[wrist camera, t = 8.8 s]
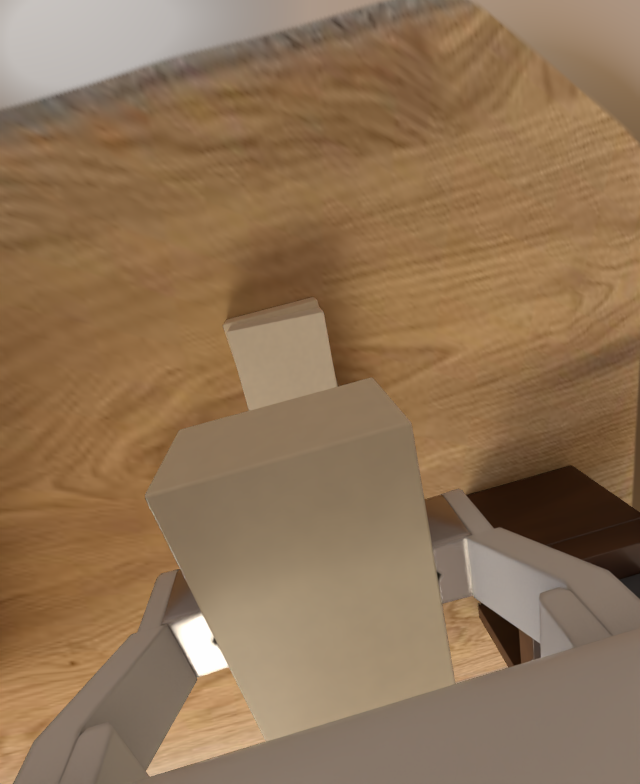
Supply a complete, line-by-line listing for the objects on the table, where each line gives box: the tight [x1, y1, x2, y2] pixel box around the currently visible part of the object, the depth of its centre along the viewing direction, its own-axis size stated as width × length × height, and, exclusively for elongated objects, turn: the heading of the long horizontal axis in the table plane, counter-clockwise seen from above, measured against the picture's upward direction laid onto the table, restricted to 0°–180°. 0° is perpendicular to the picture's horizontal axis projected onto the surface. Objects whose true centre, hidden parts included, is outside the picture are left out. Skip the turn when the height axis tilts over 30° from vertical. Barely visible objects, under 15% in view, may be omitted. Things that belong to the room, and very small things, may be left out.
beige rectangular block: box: [145, 378, 455, 741], centre depth 9 cm, size 8×5×3 cm, turn 14°
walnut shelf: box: [466, 466, 640, 667], centre depth 29 cm, size 14×9×8 cm, turn 14°
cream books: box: [223, 297, 338, 411], centre depth 23 cm, size 9×6×4 cm, turn 14°
